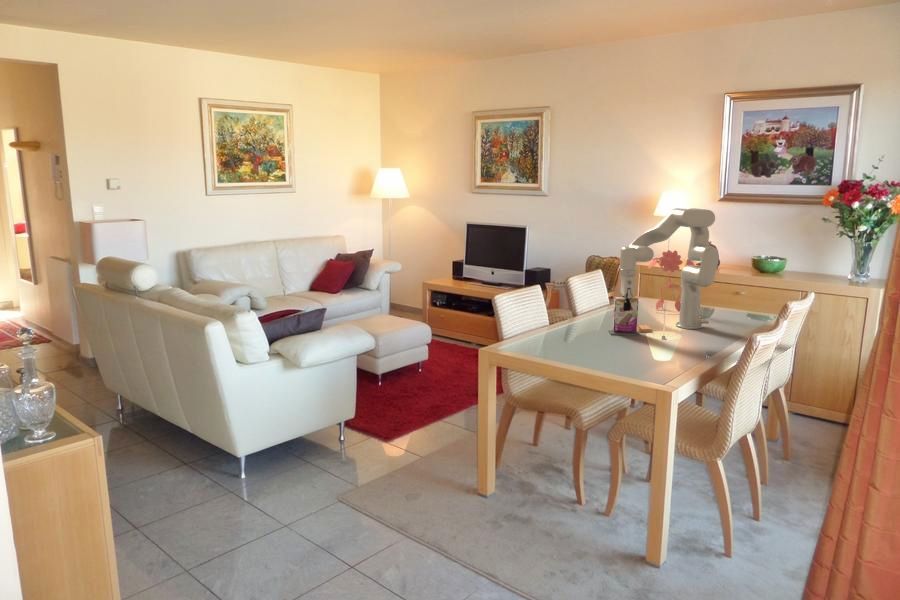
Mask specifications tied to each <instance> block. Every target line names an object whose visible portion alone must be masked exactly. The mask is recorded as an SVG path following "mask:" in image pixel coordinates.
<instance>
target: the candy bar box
mask: <svg viewBox="0 0 900 600" xmlns="http://www.w3.org/2000/svg"><path fill="white" fill-rule="evenodd" d="M626 299H627V298H626ZM624 302H625V297H622V296H614V298H613V313H612V314H613V315H612V330H613V331H626V332H636V331H638V330H637V325H638V315H639V314H638V313H639V312H638V311H639V299H638V297H631V309H630V311H624Z"/></svg>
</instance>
